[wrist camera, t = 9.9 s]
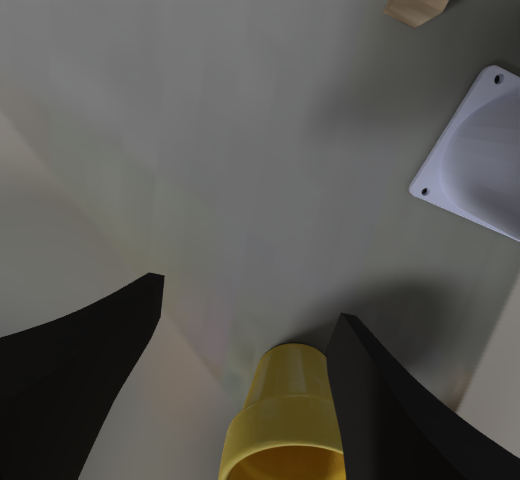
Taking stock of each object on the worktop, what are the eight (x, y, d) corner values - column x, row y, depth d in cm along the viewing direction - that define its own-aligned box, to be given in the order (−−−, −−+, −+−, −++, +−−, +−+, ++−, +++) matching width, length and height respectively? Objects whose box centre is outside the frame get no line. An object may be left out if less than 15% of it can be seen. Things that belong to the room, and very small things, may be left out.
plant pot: (213, 371, 28) (182, 497, 19) (290, 303, 24) (299, 417, 15) (294, 424, 30) (302, 558, 21) (375, 369, 27) (425, 501, 18)
